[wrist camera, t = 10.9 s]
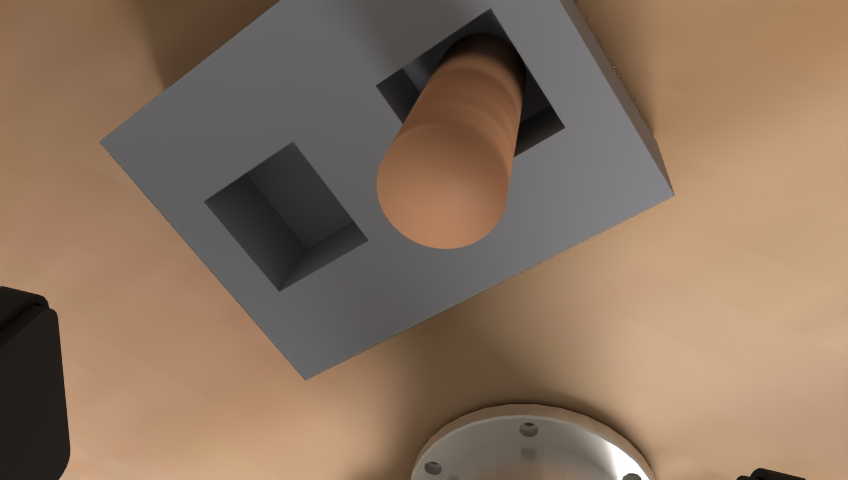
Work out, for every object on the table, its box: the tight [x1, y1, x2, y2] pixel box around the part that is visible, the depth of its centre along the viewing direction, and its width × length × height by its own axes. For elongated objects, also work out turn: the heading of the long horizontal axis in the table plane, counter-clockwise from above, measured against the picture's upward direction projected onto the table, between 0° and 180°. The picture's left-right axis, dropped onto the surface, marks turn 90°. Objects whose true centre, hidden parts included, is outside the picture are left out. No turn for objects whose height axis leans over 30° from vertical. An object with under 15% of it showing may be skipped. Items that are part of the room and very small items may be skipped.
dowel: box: [376, 33, 526, 249], centre depth 22 cm, size 3×3×10 cm
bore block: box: [100, 0, 675, 380], centre depth 27 cm, size 16×12×5 cm
